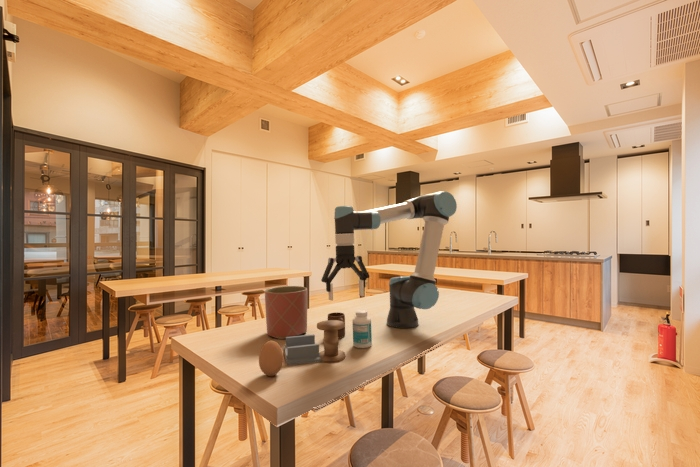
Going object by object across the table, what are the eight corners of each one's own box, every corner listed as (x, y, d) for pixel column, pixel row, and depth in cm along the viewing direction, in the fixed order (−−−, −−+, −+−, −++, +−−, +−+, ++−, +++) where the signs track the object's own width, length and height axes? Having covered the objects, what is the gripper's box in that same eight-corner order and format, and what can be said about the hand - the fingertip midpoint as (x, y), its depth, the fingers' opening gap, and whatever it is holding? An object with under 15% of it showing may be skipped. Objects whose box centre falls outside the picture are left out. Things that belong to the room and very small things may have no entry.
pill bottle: (362, 341, 131) (361, 308, 131) (375, 345, 126) (374, 311, 126) (349, 345, 126) (348, 311, 126) (362, 350, 120) (361, 314, 120)
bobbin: (341, 350, 120) (341, 319, 121) (348, 360, 111) (347, 326, 111) (315, 353, 118) (314, 321, 118) (319, 364, 108) (318, 329, 108)
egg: (282, 379, 97) (281, 344, 97) (256, 381, 97) (256, 345, 97) (285, 369, 105) (284, 336, 105) (261, 370, 104) (261, 337, 104)
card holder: (314, 344, 128) (314, 332, 128) (321, 361, 111) (321, 347, 111) (284, 347, 125) (284, 335, 125) (286, 365, 108) (286, 351, 108)
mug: (352, 340, 132) (351, 317, 133) (334, 343, 130) (334, 319, 130) (341, 332, 144) (341, 311, 144) (325, 334, 141) (325, 313, 141)
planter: (278, 343, 131) (277, 294, 131) (258, 333, 145) (257, 289, 145) (316, 333, 143) (315, 288, 143) (294, 324, 157) (293, 284, 158)
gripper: (367, 243, 136) (369, 292, 136) (312, 246, 125) (313, 300, 125) (376, 243, 129) (378, 295, 129) (318, 246, 118) (320, 303, 118)
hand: (346, 297), depth 127 cm, fingers open, 13 cm apart
